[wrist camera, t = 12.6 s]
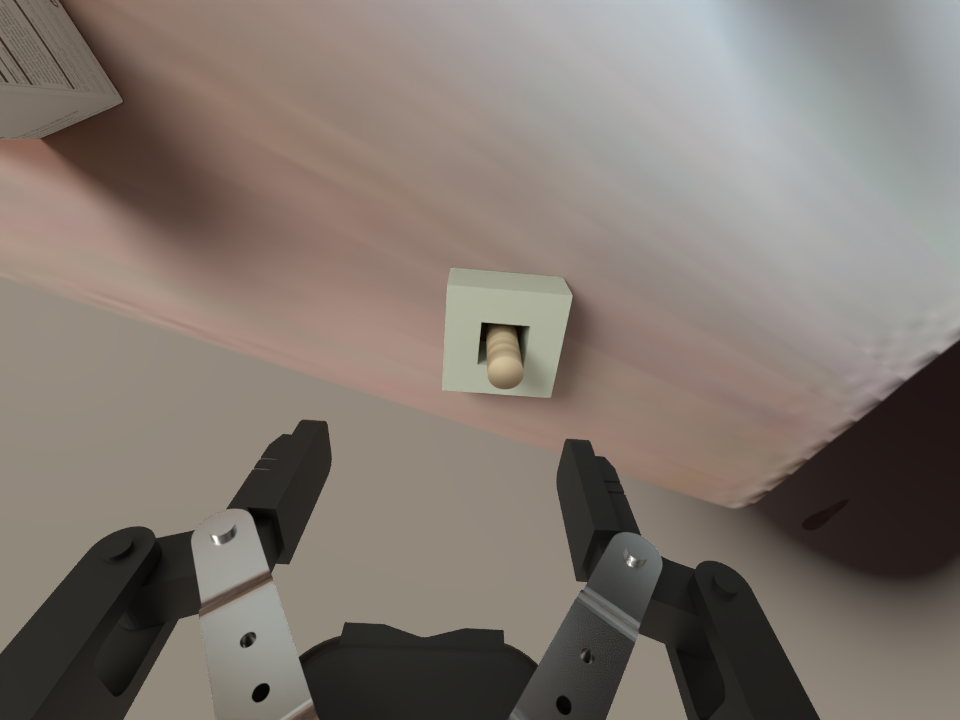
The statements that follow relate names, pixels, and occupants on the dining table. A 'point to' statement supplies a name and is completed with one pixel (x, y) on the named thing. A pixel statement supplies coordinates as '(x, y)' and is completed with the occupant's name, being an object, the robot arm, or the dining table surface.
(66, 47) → the supplement box
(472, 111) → the dining table surface
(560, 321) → the hole block
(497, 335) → the peg
